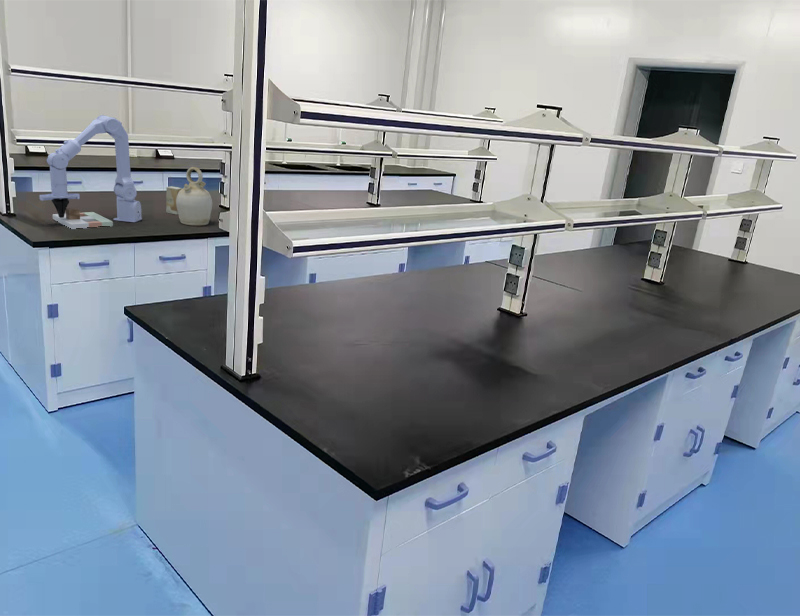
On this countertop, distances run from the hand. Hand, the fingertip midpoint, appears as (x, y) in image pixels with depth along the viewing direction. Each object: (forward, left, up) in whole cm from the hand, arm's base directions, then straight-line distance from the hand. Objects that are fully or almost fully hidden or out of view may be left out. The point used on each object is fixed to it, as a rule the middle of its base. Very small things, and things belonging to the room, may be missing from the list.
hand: (61, 217), depth 257 cm
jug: (-44, -29, -3) cm, 53 cm away
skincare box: (-29, -44, -3) cm, 53 cm away
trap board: (-6, -7, -3) cm, 9 cm away
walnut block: (-3, -3, -1) cm, 5 cm away
